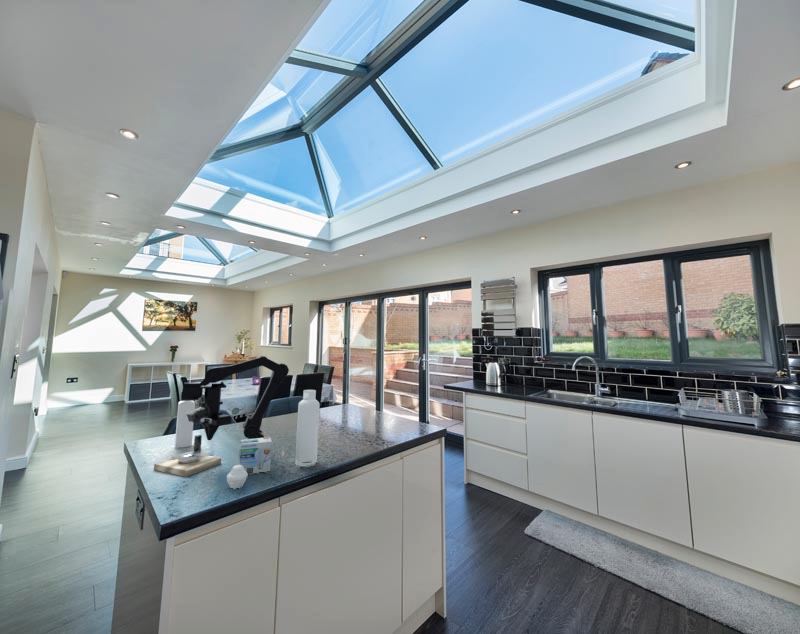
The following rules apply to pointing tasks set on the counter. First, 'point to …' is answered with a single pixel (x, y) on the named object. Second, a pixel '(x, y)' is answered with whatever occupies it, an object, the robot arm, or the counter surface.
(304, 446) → the bottle
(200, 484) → the counter surface
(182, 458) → the capstan dial
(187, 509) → the counter surface
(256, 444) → the light bulb box
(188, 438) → the milk
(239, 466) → the muffin
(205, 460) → the dial base plate
